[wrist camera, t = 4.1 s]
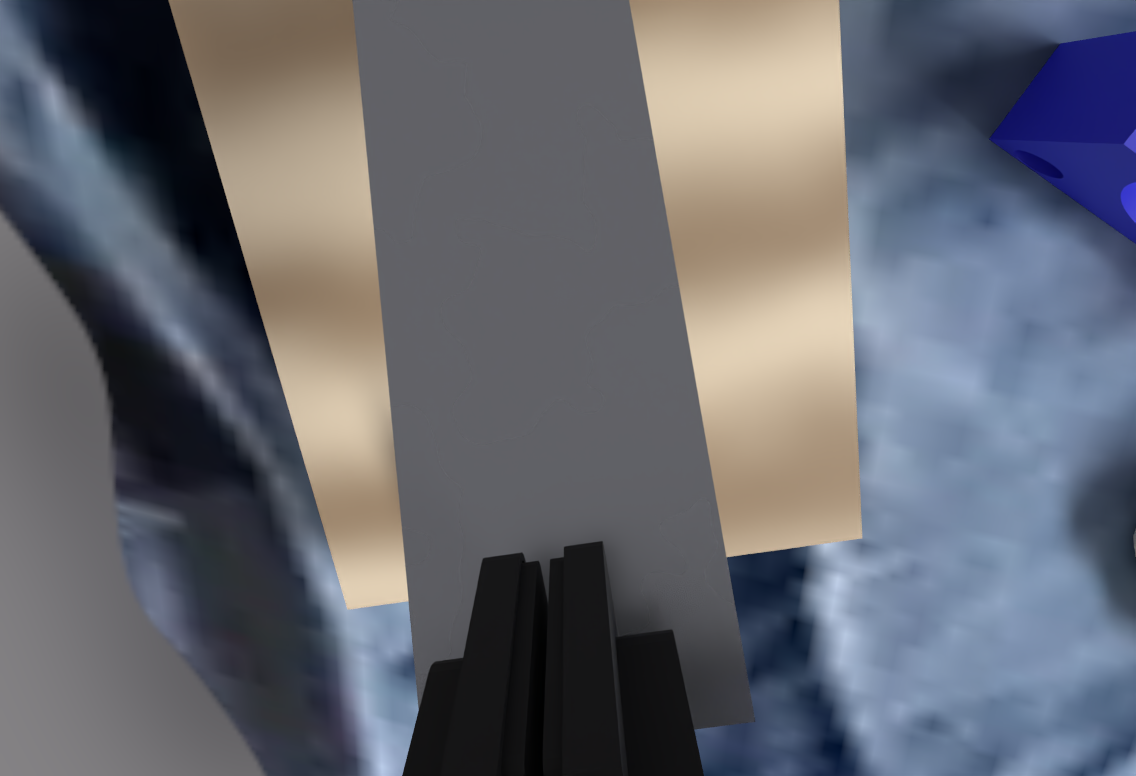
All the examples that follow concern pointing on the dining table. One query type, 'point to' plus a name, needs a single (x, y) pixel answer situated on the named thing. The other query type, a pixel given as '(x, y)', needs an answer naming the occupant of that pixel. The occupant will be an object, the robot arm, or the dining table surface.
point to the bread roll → (1135, 539)
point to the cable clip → (1082, 126)
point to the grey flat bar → (538, 324)
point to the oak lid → (697, 229)
